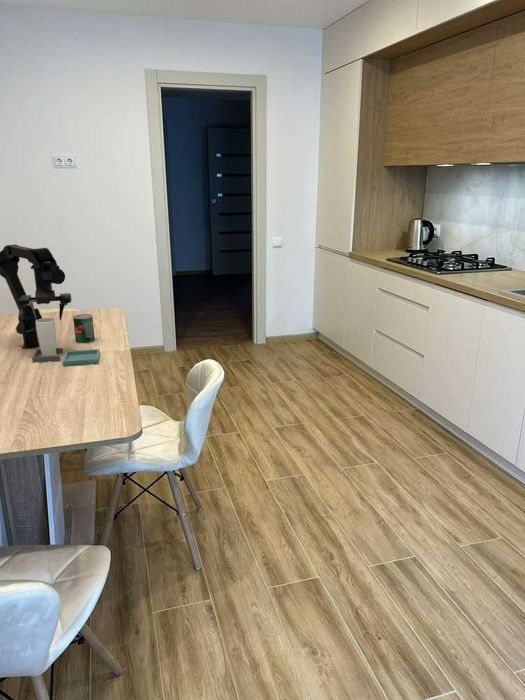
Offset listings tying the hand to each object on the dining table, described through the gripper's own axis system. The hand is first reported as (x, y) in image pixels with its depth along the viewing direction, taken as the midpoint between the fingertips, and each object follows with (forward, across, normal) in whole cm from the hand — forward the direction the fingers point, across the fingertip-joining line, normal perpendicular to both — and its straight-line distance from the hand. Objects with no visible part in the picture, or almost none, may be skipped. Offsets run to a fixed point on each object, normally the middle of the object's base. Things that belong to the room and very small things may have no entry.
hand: (48, 320), depth 203 cm
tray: (+13, +12, -13) cm, 22 cm away
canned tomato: (+13, +12, +13) cm, 22 cm away
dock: (+13, 0, -7) cm, 15 cm away
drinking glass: (+13, 0, -7) cm, 15 cm away
